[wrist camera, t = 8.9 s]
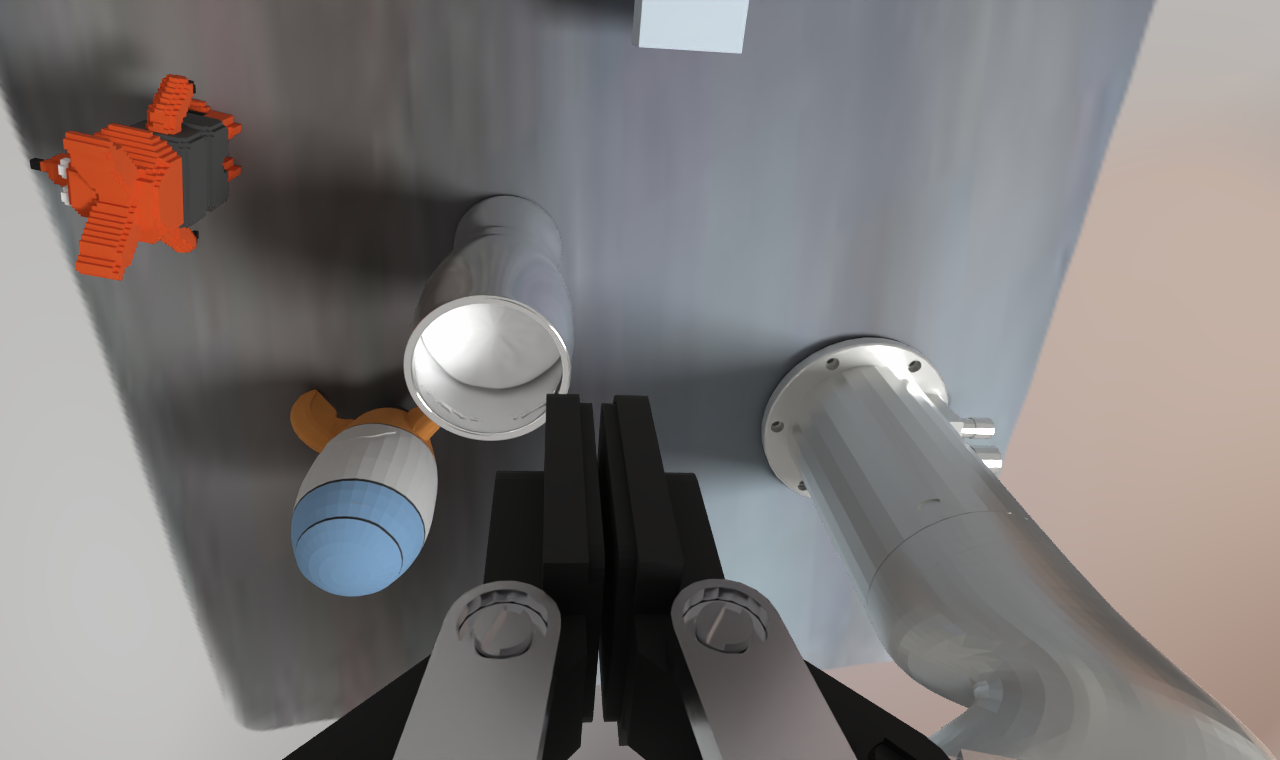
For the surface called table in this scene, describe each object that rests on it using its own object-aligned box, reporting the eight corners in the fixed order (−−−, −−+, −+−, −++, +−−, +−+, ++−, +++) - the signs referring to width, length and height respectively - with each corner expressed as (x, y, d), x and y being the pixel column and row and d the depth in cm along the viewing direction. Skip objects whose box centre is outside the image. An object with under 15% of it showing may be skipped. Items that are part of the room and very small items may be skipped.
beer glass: (423, 214, 41) (363, 330, 28) (540, 167, 40) (533, 263, 27) (480, 320, 44) (449, 468, 31) (588, 278, 44) (602, 411, 31)
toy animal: (127, 41, 36) (-50, 72, 25) (249, 70, 37) (127, 112, 26) (136, 202, 39) (-15, 288, 29) (247, 224, 40) (140, 314, 30)
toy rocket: (456, 487, 51) (362, 675, 39) (308, 424, 50) (161, 598, 37) (505, 377, 46) (414, 555, 33) (340, 303, 44) (181, 459, 32)
